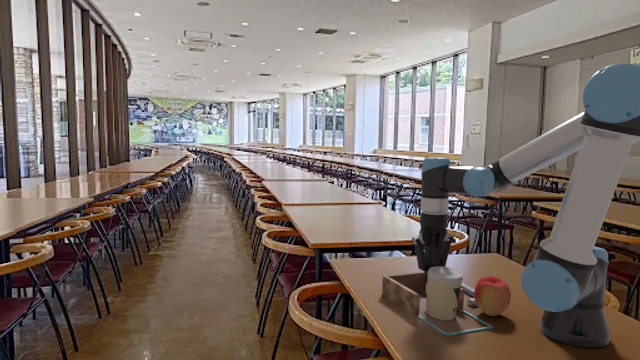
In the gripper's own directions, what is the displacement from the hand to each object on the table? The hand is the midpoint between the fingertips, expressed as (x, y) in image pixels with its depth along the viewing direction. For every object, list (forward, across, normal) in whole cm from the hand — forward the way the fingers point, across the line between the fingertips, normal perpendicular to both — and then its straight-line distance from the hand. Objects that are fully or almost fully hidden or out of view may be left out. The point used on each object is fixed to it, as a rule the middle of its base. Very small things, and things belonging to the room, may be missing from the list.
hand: (430, 294), depth 127 cm
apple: (+4, -13, +10) cm, 17 cm away
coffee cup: (+4, 0, +5) cm, 7 cm away
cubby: (+4, 0, -4) cm, 6 cm away
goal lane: (+4, 0, +11) cm, 11 cm away
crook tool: (+4, -16, -5) cm, 18 cm away
